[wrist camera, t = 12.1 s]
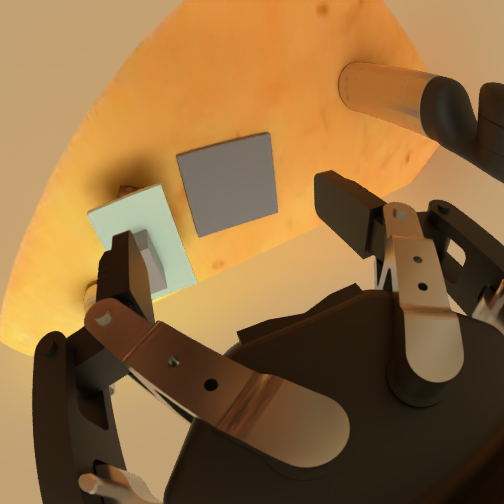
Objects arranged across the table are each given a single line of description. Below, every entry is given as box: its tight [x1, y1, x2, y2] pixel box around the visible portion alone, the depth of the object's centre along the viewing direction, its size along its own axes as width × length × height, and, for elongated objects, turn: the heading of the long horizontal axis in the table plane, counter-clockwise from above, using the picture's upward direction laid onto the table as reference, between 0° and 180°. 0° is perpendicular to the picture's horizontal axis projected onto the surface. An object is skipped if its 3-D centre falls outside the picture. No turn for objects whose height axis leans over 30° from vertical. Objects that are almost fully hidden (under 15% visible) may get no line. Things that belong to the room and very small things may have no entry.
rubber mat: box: [176, 132, 278, 238], centre depth 43 cm, size 14×14×1 cm
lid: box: [87, 182, 198, 300], centre depth 32 cm, size 9×15×5 cm, turn 10°
